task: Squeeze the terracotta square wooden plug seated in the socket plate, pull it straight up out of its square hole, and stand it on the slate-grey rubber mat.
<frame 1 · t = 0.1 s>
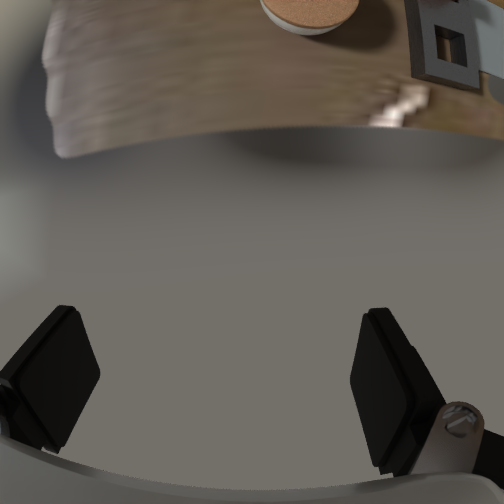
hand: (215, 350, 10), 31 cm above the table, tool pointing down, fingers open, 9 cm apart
socket plate: (433, 20, 28), on the table
lidded jar: (300, 9, 30), on the table
mat: (496, 39, 28), on the table
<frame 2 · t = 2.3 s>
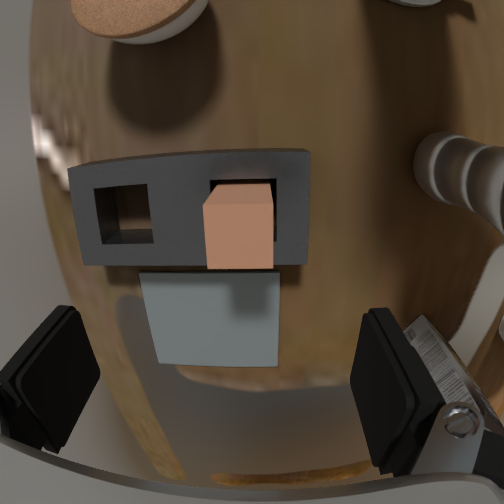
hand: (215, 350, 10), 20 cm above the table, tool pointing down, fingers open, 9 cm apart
plug: (246, 199, 28), resting in socket plate
plastic bottle: (432, 162, 26), on the table
coffee box: (419, 345, 34), on the table
socket plate: (190, 201, 28), on the table
lidded jar: (164, 6, 21), on the table
mat: (212, 322, 33), on the table
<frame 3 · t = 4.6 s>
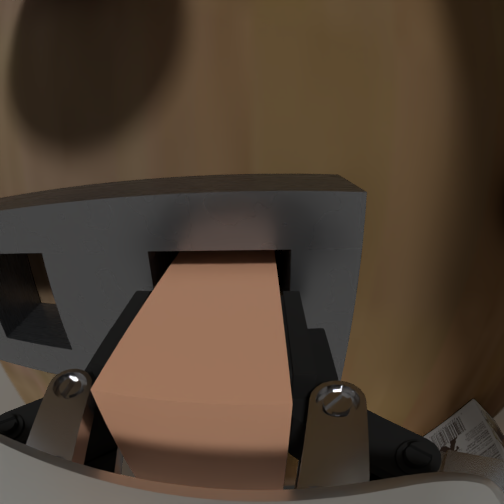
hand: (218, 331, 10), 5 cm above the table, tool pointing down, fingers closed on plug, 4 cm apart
plug: (231, 279, 15), resting in socket plate, touching gripper
coffee box: (461, 428, 22), on the table
socket plate: (134, 268, 15), on the table
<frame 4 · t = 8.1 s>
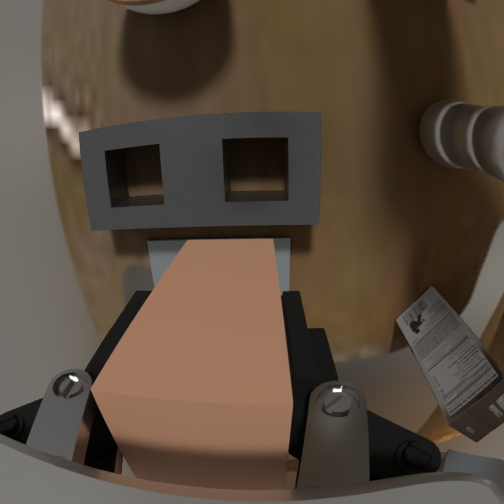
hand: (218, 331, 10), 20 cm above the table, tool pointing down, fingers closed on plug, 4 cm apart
plug: (231, 278, 15), point 15 cm above the table, touching gripper
plastic bottle: (437, 131, 25), on the table
coffee box: (429, 319, 34), on the table
socket plate: (201, 165, 28), on the table
mat: (220, 292, 33), on the table
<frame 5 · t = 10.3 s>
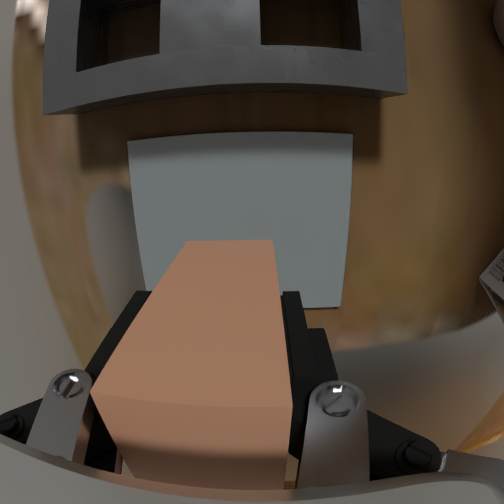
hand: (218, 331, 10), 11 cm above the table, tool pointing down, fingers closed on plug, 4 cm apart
plug: (231, 279, 15), point 6 cm above the table, touching gripper
socket plate: (218, 27, 15), on the table
mat: (240, 226, 20), on the table
when the fingers open (7 cm above the table, at t = 11.8 s): plug drops 1 cm, resting on mat.
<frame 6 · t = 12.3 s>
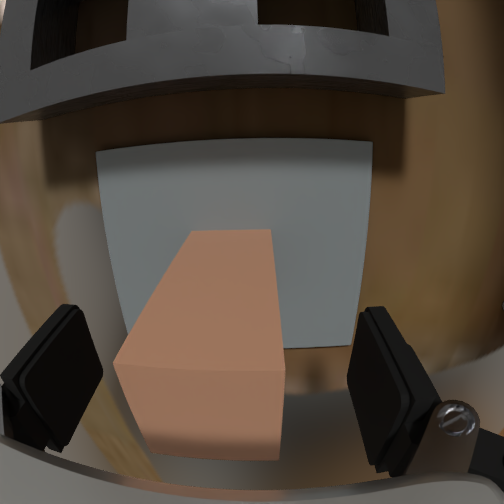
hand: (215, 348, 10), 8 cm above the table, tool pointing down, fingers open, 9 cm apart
plug: (232, 266, 17), resting on mat
socket plate: (206, 10, 12), on the table
mat: (233, 254, 17), on the table
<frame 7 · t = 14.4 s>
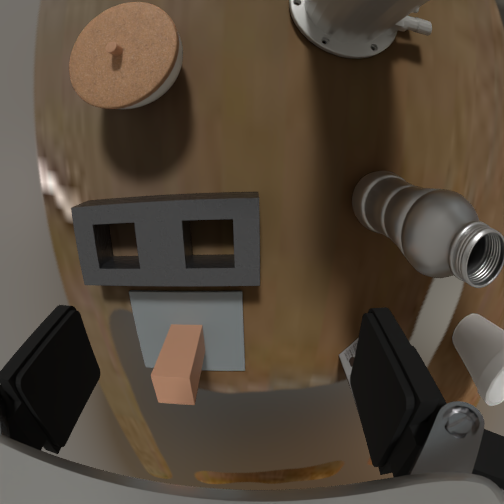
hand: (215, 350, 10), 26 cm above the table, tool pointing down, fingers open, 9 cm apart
plug: (188, 337, 39), resting on mat
plastic bottle: (372, 197, 34), on the table
coffee box: (372, 354, 41), on the table
socket plate: (169, 234, 35), on the table
lidded jar: (145, 69, 29), on the table
mat: (188, 332, 39), on the table
foam cup: (466, 330, 40), on the table
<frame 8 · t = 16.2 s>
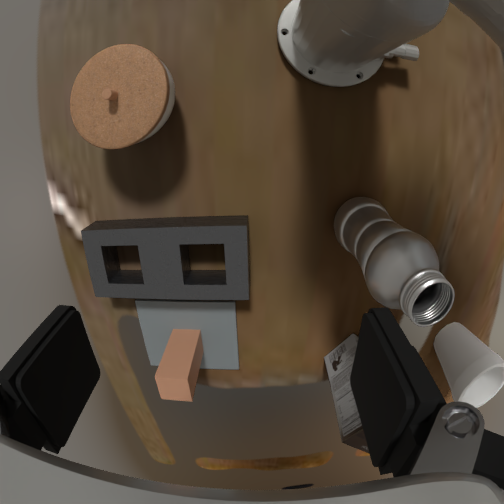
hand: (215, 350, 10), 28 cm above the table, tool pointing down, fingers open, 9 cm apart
plug: (188, 340, 44), resting on mat
plastic bottle: (355, 218, 37), on the table
coffee box: (355, 357, 45), on the table
socket plate: (169, 252, 39), on the table
lidded jar: (142, 100, 32), on the table
mat: (188, 336, 44), on the table
foam cup: (448, 336, 44), on the table
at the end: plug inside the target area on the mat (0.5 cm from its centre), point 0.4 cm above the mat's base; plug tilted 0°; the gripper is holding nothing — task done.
